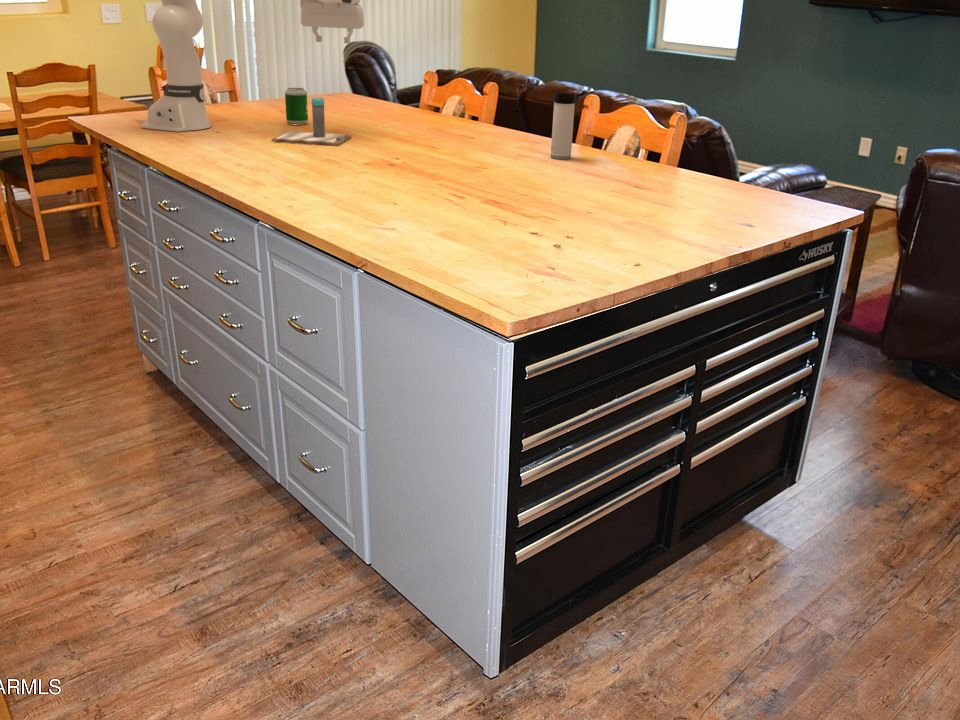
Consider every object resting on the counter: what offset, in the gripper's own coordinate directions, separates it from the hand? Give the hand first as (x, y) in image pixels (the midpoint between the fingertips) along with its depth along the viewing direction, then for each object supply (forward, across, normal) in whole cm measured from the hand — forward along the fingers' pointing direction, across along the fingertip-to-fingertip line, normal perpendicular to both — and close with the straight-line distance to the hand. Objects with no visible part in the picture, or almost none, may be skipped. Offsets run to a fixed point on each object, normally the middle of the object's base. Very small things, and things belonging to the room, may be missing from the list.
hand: (333, 42), depth 292 cm
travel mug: (+29, +77, -17) cm, 84 cm away
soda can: (+29, -18, +13) cm, 37 cm away
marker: (+28, -2, -12) cm, 31 cm away
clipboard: (+29, -4, -13) cm, 32 cm away
